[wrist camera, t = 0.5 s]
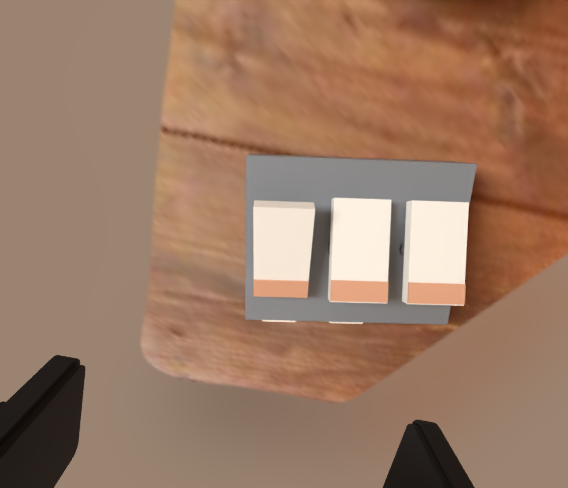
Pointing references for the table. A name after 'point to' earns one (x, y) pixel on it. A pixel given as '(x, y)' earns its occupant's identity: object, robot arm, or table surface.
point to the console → (321, 190)
